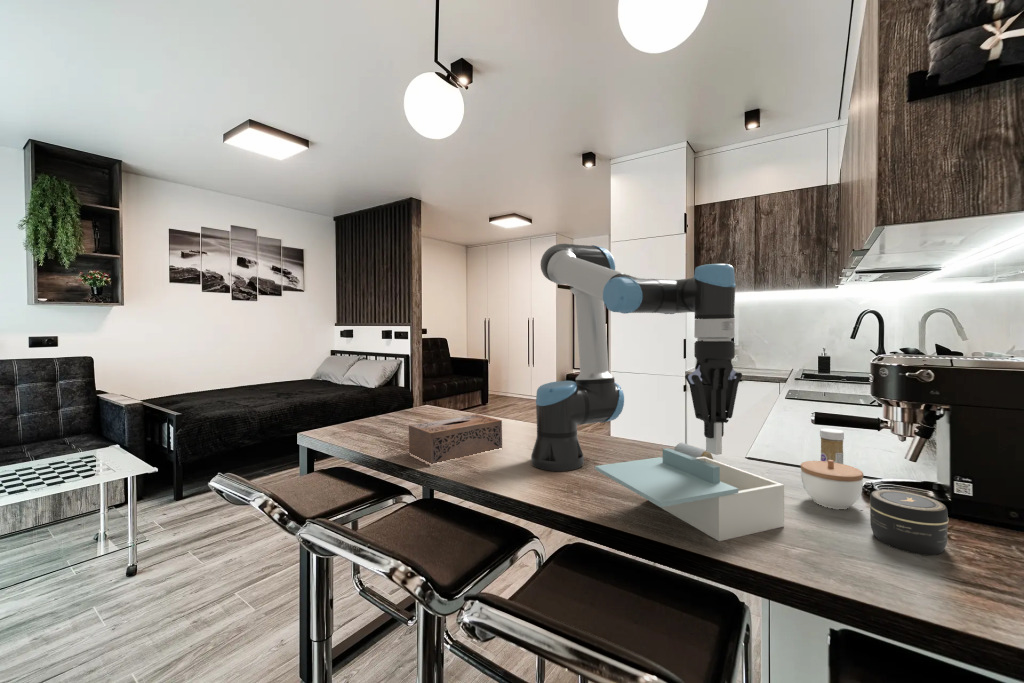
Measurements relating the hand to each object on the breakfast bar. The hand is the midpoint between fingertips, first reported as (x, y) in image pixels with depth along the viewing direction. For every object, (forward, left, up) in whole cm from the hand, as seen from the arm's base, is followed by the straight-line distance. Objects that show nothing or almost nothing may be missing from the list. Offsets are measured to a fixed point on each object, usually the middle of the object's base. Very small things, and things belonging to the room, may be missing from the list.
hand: (713, 452), depth 87 cm
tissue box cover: (-64, -41, -13) cm, 77 cm away
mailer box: (0, -1, -12) cm, 12 cm away
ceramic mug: (-20, +14, -13) cm, 27 cm away
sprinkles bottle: (-1, +37, -12) cm, 39 cm away
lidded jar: (+6, +26, -12) cm, 29 cm away
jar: (+22, +21, -13) cm, 33 cm away
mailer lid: (0, -14, -4) cm, 14 cm away
